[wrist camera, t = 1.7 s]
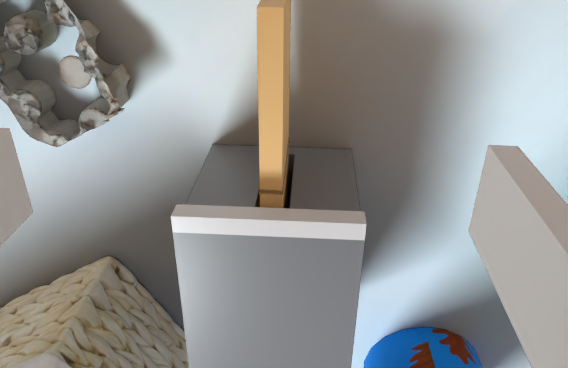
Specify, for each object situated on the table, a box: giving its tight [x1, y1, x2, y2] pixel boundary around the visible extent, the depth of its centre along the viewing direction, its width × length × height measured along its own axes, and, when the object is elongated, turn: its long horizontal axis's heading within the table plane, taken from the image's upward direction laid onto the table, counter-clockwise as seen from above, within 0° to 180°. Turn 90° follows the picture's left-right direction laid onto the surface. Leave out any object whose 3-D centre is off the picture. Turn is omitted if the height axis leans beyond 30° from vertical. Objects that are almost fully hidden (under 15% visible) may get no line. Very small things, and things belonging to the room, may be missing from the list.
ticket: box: [257, 0, 291, 208], centre depth 30 cm, size 22×1×7 cm, turn 179°
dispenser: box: [171, 144, 367, 368], centre depth 33 cm, size 15×10×11 cm, turn 179°
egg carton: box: [0, 0, 131, 147], centre depth 31 cm, size 11×8×4 cm
